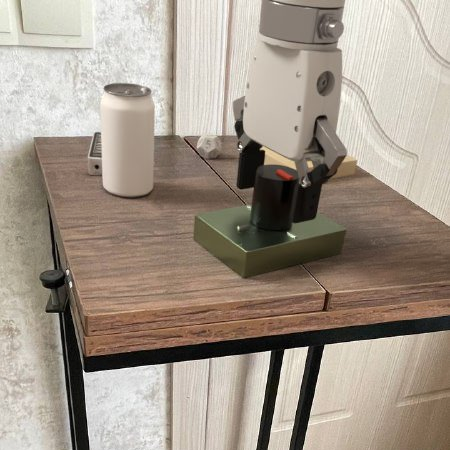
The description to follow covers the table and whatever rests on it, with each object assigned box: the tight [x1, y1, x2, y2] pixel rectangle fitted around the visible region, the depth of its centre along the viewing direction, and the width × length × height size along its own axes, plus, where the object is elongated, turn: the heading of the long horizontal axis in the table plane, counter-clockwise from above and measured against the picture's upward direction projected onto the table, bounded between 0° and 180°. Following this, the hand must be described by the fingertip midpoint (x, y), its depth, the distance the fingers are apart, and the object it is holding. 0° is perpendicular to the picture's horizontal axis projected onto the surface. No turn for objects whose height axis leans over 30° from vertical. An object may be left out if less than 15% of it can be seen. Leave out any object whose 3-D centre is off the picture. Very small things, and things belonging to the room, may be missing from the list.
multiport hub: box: [87, 131, 103, 177], centre depth 88 cm, size 4×11×2 cm, turn 5°
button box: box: [260, 146, 358, 184], centre depth 93 cm, size 12×10×4 cm
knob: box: [250, 164, 300, 230], centre depth 68 cm, size 5×5×6 cm
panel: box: [193, 203, 347, 279], centre depth 71 cm, size 14×10×3 cm
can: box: [99, 82, 156, 199], centre depth 78 cm, size 6×6×12 cm
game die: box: [196, 133, 222, 160], centre depth 93 cm, size 4×4×3 cm
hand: (274, 203), depth 69 cm, fingers open, 9 cm apart
